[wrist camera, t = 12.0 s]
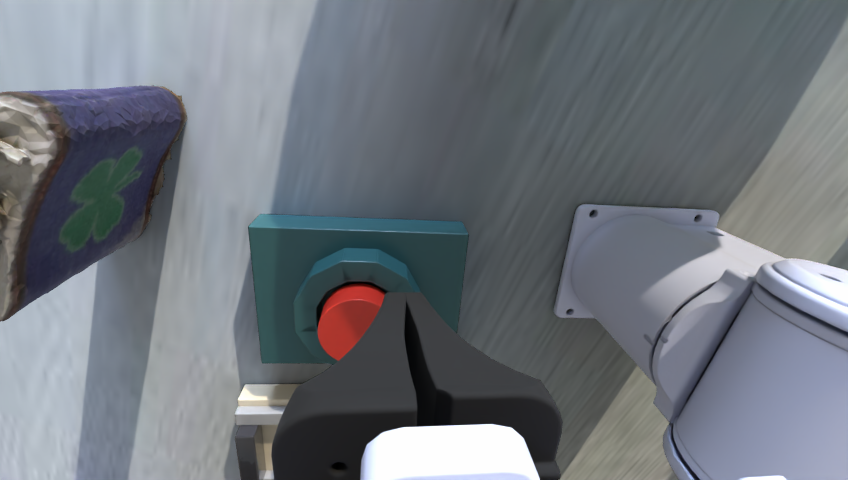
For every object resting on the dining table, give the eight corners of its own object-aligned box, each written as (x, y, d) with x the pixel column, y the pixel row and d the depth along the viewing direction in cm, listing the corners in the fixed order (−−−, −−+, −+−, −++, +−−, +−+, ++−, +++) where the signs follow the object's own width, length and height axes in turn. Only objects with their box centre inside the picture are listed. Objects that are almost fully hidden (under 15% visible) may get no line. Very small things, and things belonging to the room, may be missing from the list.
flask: (141, 245, 23) (-47, 369, 13) (87, 222, 22) (-157, 334, 12) (197, 101, 20) (16, 118, 10) (138, 70, 20) (-118, 55, 10)
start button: (396, 283, 21) (397, 300, 20) (393, 344, 23) (394, 364, 21) (321, 282, 21) (315, 298, 19) (323, 344, 22) (318, 365, 21)
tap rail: (497, 382, 29) (509, 414, 26) (483, 459, 32) (493, 496, 29) (244, 384, 27) (228, 419, 24) (254, 466, 30) (241, 506, 27)
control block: (462, 221, 24) (475, 246, 20) (448, 342, 27) (458, 383, 24) (259, 213, 23) (235, 238, 19) (271, 342, 26) (251, 384, 22)
